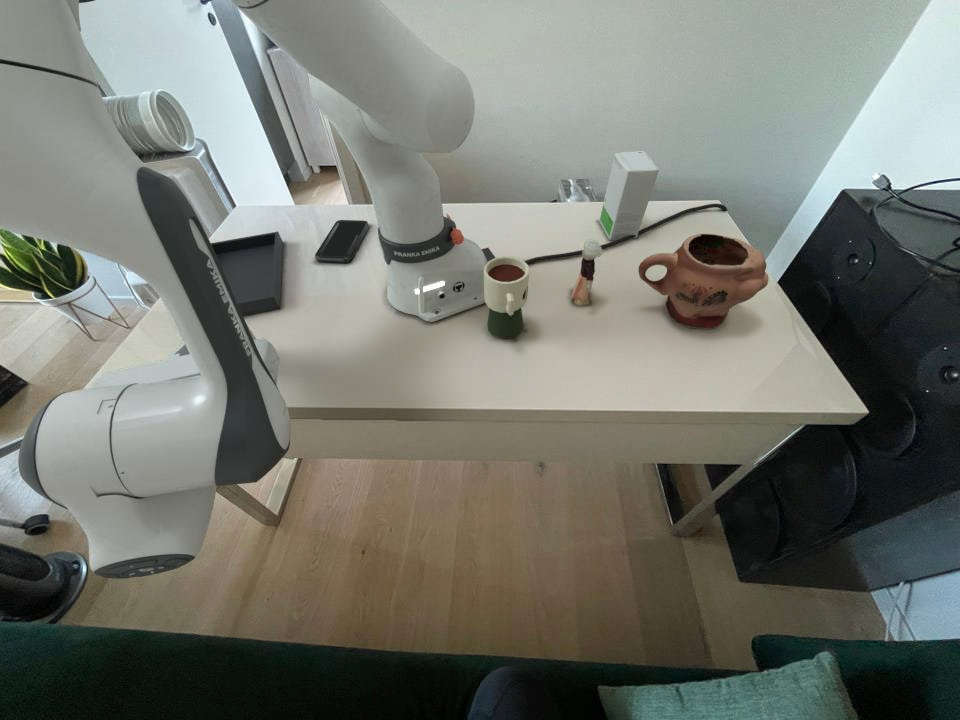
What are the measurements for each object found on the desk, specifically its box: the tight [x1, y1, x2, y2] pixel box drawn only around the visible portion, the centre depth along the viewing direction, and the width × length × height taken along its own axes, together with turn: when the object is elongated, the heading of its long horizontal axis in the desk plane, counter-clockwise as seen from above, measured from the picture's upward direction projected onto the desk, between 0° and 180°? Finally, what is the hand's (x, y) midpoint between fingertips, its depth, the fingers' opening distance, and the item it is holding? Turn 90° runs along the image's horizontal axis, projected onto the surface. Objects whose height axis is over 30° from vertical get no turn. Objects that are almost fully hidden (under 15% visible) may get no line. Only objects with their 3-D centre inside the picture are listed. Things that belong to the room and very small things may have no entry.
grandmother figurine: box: [570, 238, 603, 306], centre depth 73 cm, size 8×4×13 cm, turn 6°
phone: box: [314, 219, 370, 264], centre depth 93 cm, size 8×1×15 cm
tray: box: [210, 231, 284, 317], centre depth 84 cm, size 15×23×3 cm, turn 16°
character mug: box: [484, 255, 530, 339], centre depth 69 cm, size 11×7×13 cm, turn 6°
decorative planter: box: [637, 233, 769, 330], centre depth 70 cm, size 20×12×14 cm, turn 85°
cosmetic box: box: [598, 150, 660, 242], centre depth 87 cm, size 8×7×16 cm
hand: (198, 337), depth 55 cm, fingers closed
